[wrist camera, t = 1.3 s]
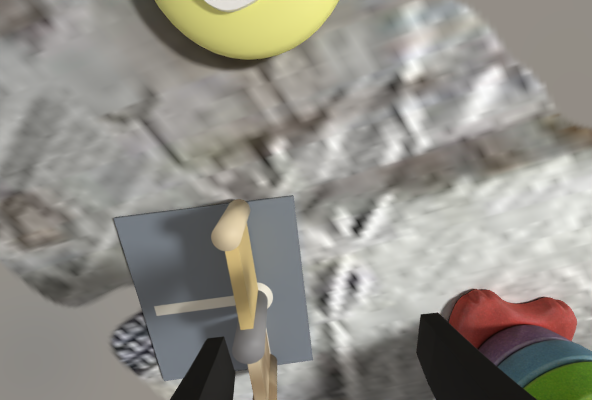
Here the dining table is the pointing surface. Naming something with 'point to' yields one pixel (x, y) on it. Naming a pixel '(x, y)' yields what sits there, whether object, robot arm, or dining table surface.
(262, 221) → the card
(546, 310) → the stacking bear
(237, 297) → the fence panel
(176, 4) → the emoji
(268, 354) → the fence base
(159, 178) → the dining table surface
